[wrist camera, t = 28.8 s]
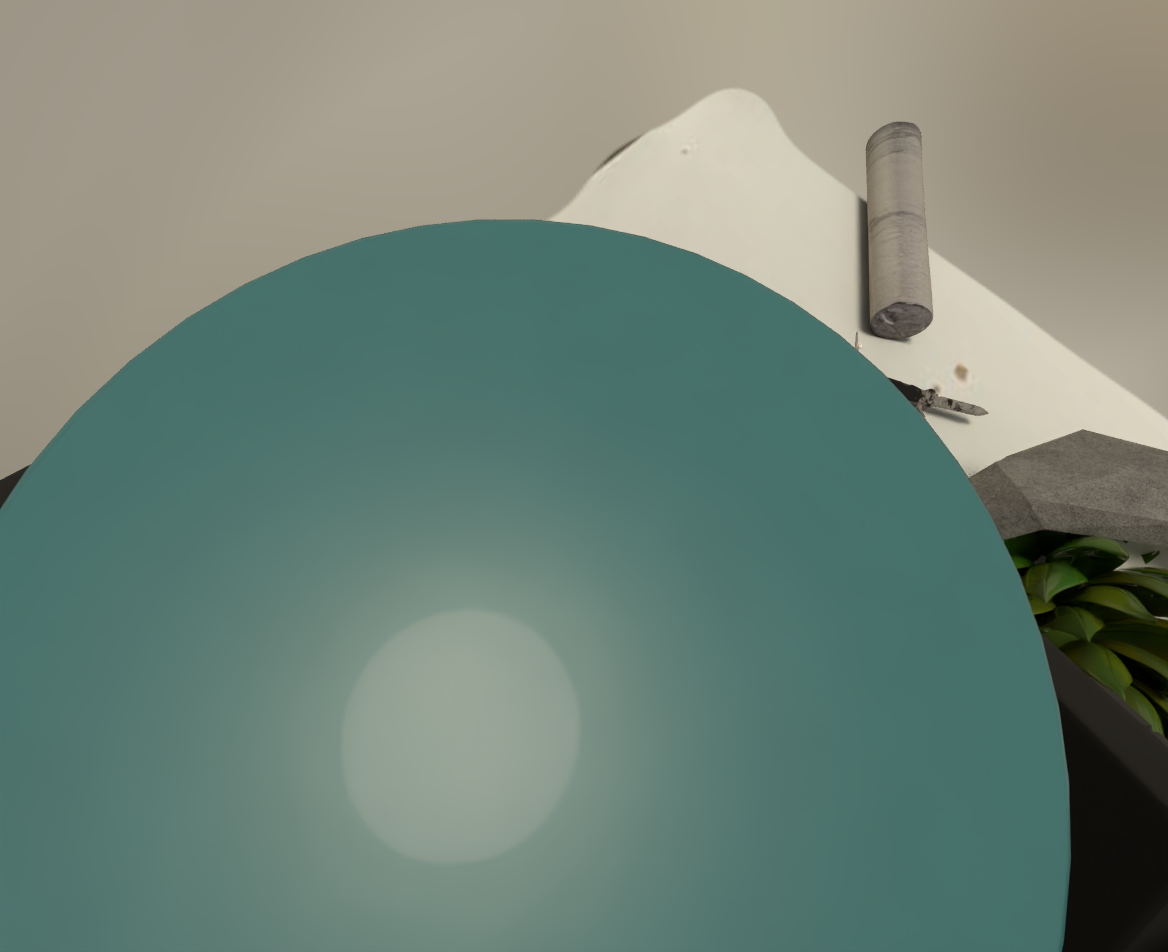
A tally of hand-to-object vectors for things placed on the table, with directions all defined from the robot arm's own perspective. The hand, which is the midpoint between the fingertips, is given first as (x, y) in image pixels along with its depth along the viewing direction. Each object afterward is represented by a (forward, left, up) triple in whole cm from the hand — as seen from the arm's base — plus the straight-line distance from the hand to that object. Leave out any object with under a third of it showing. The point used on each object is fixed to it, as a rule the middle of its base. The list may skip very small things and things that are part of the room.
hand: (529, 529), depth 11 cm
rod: (+19, +20, -9) cm, 29 cm away
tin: (0, -3, -4) cm, 5 cm away
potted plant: (+18, 0, -13) cm, 22 cm away
